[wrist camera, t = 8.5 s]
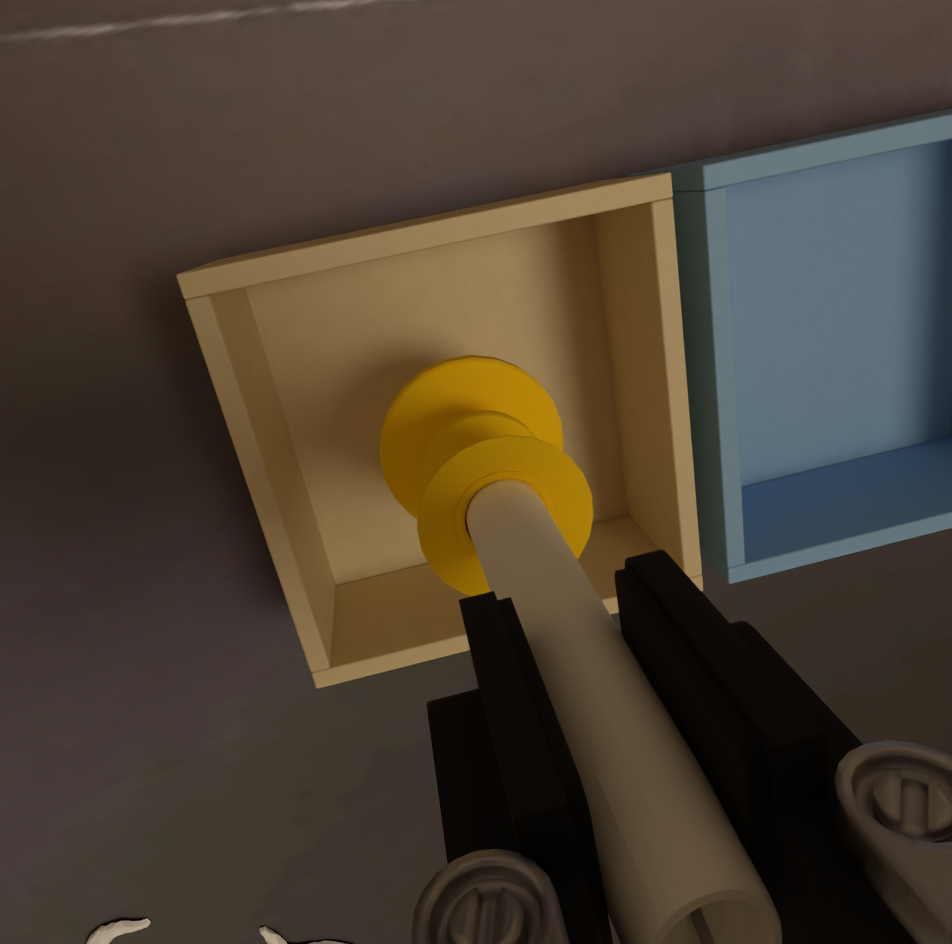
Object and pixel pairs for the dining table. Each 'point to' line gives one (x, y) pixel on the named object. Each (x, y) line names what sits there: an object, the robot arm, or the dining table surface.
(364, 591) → the cream bin
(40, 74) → the dining table surface
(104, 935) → the tree stump
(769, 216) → the blue bin
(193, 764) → the dining table surface
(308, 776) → the dining table surface
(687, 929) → the candle
